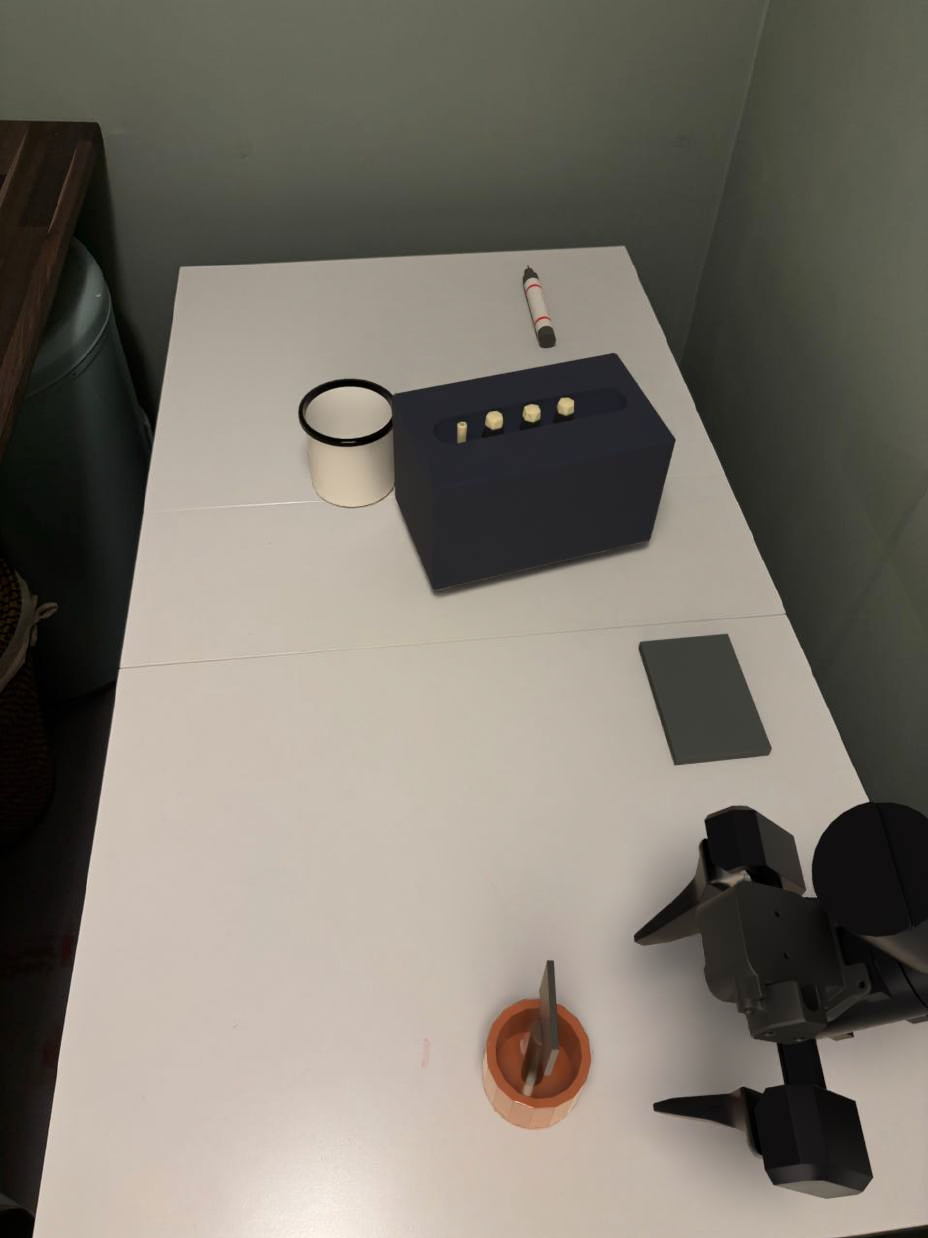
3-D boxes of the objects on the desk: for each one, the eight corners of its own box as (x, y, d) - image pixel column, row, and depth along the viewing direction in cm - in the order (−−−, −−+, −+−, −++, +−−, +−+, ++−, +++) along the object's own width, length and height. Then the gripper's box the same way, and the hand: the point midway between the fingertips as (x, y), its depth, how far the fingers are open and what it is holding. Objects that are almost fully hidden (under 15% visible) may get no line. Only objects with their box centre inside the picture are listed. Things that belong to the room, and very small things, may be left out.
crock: (599, 1071, 65) (611, 1047, 61) (539, 1153, 62) (547, 1133, 58) (524, 1005, 68) (530, 977, 63) (462, 1080, 65) (464, 1056, 60)
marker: (555, 347, 115) (557, 332, 113) (538, 348, 115) (540, 333, 113) (534, 273, 124) (535, 259, 123) (518, 274, 124) (520, 259, 123)
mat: (769, 755, 81) (772, 749, 80) (674, 765, 80) (676, 759, 79) (725, 640, 88) (727, 633, 88) (638, 648, 87) (640, 641, 87)
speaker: (596, 465, 102) (617, 342, 91) (649, 552, 95) (679, 431, 83) (394, 508, 98) (389, 384, 86) (433, 603, 90) (433, 482, 78)
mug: (308, 516, 97) (299, 445, 90) (305, 451, 102) (296, 380, 95) (430, 507, 98) (430, 436, 91) (420, 443, 104) (420, 372, 97)
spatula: (541, 1035, 66) (563, 960, 55) (545, 1114, 63) (569, 1050, 52) (519, 1035, 66) (537, 959, 55) (522, 1114, 63) (541, 1050, 52)
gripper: (790, 722, 49) (546, 823, 57) (894, 1138, 37) (569, 1190, 46) (888, 801, 55) (656, 882, 64) (1004, 1178, 44) (701, 1217, 52)
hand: (646, 1021), depth 56 cm, fingers open, 9 cm apart
